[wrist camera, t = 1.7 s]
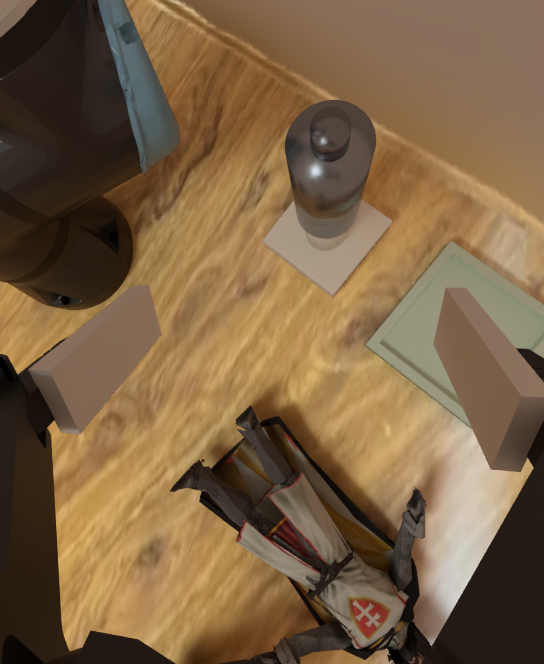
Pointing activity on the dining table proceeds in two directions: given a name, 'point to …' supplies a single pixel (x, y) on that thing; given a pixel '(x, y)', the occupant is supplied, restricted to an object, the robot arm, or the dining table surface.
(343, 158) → the dark plastic bottle
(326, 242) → the post stand
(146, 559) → the dining table surface
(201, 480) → the figurine
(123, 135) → the robot arm
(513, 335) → the tray
